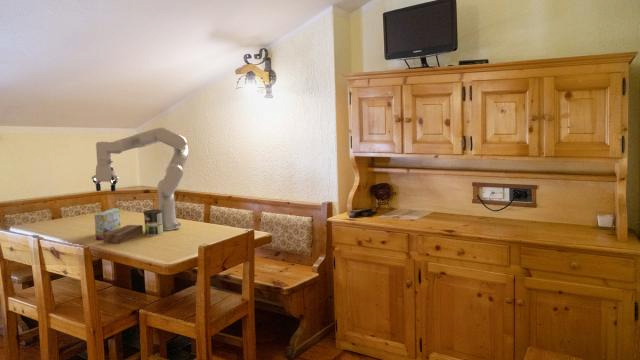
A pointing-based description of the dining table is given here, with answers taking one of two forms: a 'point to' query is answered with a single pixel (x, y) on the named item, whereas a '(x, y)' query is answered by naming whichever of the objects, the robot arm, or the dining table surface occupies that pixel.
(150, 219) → the coffee can
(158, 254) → the dining table surface
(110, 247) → the dining table surface
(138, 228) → the walnut block
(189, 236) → the dining table surface
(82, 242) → the dining table surface
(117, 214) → the snack box
